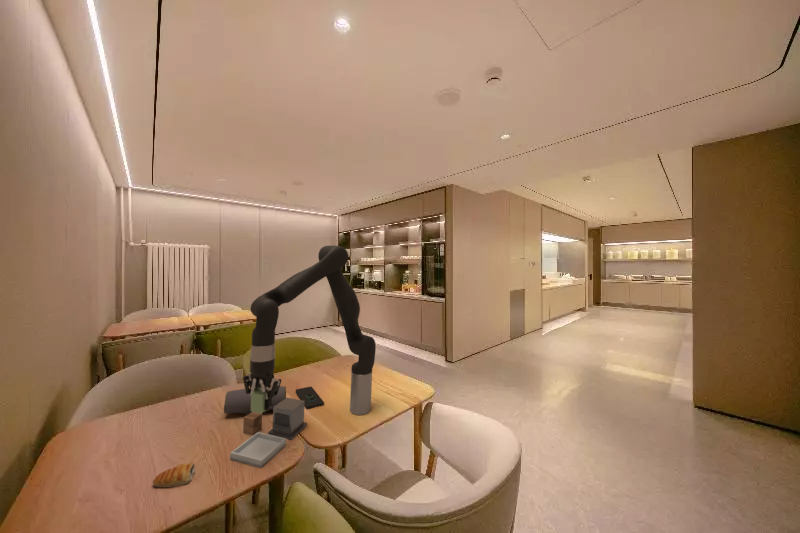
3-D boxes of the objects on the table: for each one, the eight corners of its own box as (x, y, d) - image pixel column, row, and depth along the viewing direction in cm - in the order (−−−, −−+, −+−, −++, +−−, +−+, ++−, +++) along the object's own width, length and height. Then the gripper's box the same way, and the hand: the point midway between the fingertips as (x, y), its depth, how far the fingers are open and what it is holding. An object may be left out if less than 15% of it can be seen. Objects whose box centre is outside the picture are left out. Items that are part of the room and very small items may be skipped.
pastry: (148, 494, 77) (149, 480, 77) (158, 477, 84) (158, 464, 84) (190, 484, 81) (191, 471, 81) (196, 468, 87) (196, 456, 87)
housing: (285, 420, 115) (286, 396, 115) (307, 425, 113) (308, 400, 112) (268, 434, 105) (269, 407, 105) (291, 440, 103) (292, 412, 103)
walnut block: (252, 427, 110) (252, 411, 110) (261, 429, 109) (262, 413, 109) (243, 433, 106) (243, 417, 106) (252, 435, 105) (253, 419, 105)
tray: (257, 438, 103) (257, 431, 103) (286, 445, 100) (286, 438, 100) (229, 459, 92) (230, 452, 92) (261, 468, 88) (261, 460, 88)
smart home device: (306, 406, 124) (295, 389, 141) (306, 410, 124) (294, 392, 141) (324, 402, 129) (311, 385, 146) (324, 406, 129) (311, 389, 146)
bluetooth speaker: (285, 403, 129) (286, 381, 129) (284, 413, 120) (285, 390, 120) (228, 409, 122) (229, 386, 122) (222, 420, 113) (223, 396, 113)
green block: (260, 405, 98) (261, 387, 98) (271, 407, 97) (271, 389, 97) (250, 411, 94) (251, 393, 94) (261, 413, 93) (262, 395, 93)
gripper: (288, 356, 97) (286, 406, 98) (253, 351, 101) (252, 399, 101) (273, 363, 90) (271, 417, 90) (236, 357, 94) (234, 409, 94)
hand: (261, 407), depth 96 cm, fingers closed on green block, 4 cm apart
